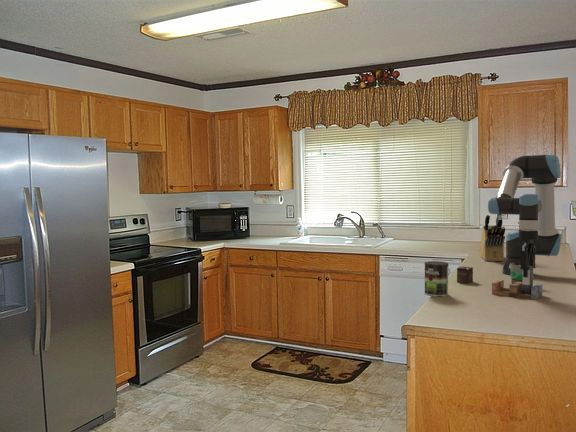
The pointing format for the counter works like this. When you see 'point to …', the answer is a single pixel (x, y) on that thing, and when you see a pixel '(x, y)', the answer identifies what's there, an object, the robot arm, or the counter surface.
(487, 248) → the knife block
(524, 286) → the plug
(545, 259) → the counter surface
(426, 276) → the coffee can
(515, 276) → the food container
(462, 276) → the box
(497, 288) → the socket block
